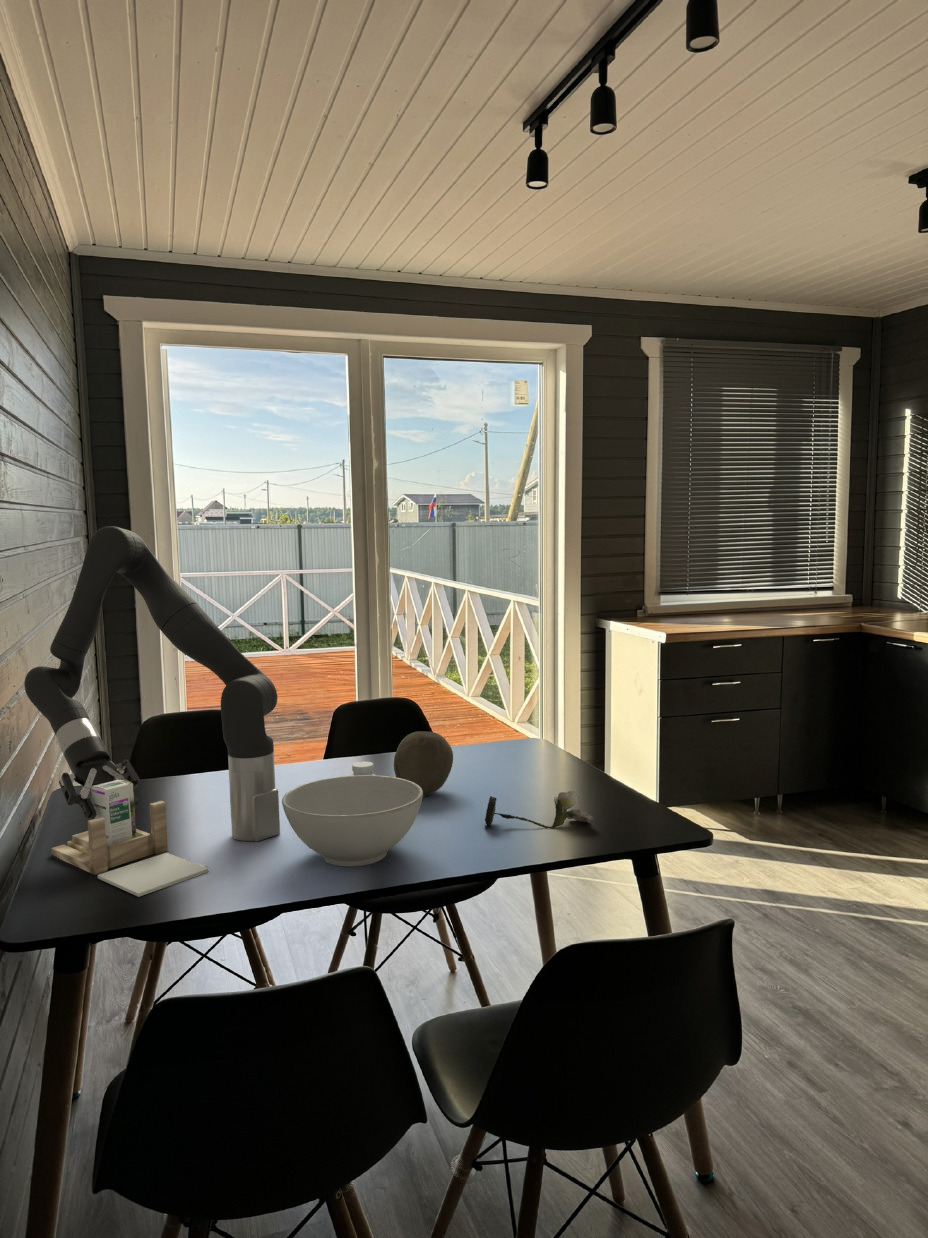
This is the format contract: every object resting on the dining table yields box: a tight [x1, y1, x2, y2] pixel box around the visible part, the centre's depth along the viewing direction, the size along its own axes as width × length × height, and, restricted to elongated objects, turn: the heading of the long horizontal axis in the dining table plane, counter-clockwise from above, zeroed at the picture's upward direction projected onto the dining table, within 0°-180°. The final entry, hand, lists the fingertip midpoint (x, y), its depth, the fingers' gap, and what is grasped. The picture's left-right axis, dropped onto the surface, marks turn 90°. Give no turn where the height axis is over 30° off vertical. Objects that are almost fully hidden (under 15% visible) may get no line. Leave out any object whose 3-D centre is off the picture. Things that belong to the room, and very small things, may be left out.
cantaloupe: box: [393, 730, 454, 797], centre depth 203 cm, size 14×14×15 cm
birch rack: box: [50, 800, 169, 876], centre depth 168 cm, size 17×15×10 cm
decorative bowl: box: [281, 774, 424, 868], centre depth 164 cm, size 27×27×12 cm
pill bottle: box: [350, 761, 377, 776], centre depth 188 cm, size 6×6×12 cm
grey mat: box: [97, 852, 210, 898], centre depth 156 cm, size 14×14×1 cm
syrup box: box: [90, 779, 137, 846], centre depth 166 cm, size 6×6×14 cm
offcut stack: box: [66, 830, 89, 852], centre depth 171 cm, size 7×9×3 cm
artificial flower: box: [484, 790, 594, 829], centre depth 179 cm, size 9×22×10 cm, turn 83°
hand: (114, 812), depth 166 cm, fingers open, 8 cm apart
